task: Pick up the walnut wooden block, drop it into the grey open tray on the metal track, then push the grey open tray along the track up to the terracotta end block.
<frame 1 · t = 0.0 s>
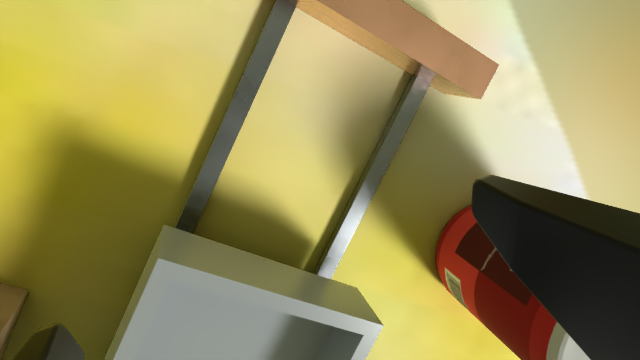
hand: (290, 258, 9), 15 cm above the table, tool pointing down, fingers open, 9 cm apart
canned food: (478, 247, 31), on the table
track: (239, 287, 26), on the table
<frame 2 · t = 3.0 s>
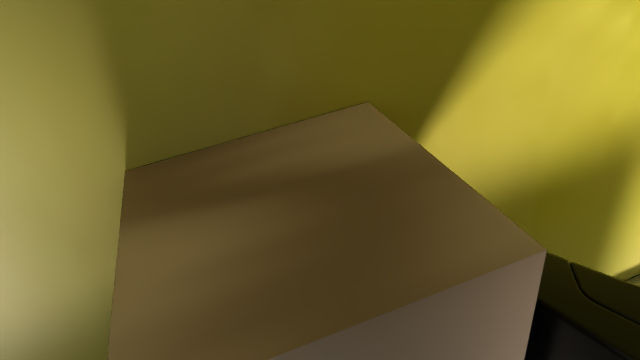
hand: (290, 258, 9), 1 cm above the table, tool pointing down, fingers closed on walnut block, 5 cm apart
walnut block: (278, 229, 10), on the table, touching gripper
when the fingers open (6 cm above the table, at t = 6.6 s): walnut block drops 1 cm, resting on grey open tray.
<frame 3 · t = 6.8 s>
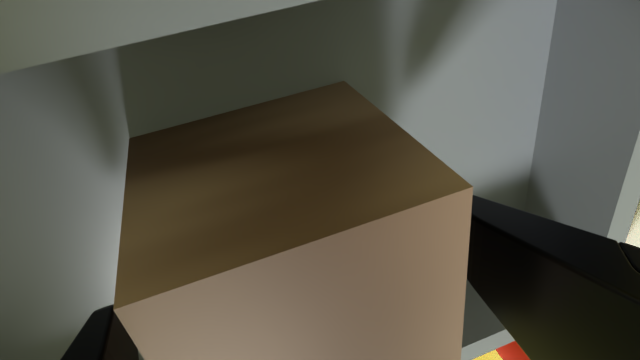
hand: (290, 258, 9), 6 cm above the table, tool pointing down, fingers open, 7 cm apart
walnut block: (265, 196, 11), point 3 cm above the table, touching grey open tray
grey open tray: (268, 201, 11), point 4 cm above the table, slide at 0.0 cm, touching walnut block
canned food: (537, 296, 25), on the table
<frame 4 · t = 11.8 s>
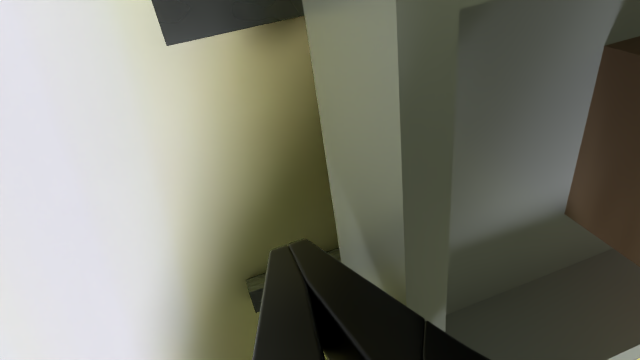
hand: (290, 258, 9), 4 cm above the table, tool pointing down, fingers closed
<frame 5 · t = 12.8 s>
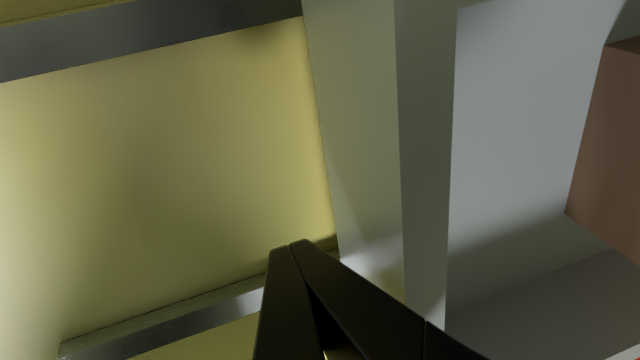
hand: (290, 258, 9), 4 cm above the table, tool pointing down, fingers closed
track: (541, 85, 14), on the table
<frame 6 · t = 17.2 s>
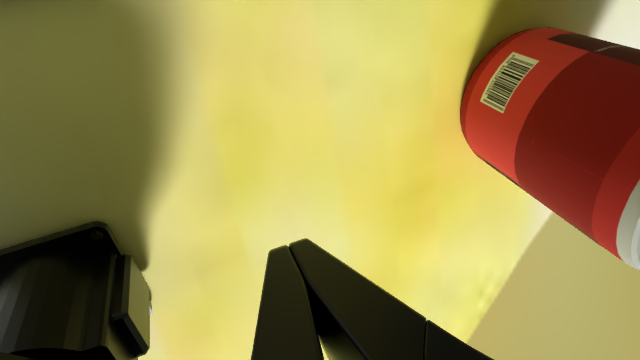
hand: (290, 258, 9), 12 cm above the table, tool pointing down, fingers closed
canned food: (510, 94, 25), on the table
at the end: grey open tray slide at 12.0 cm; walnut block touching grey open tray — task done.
